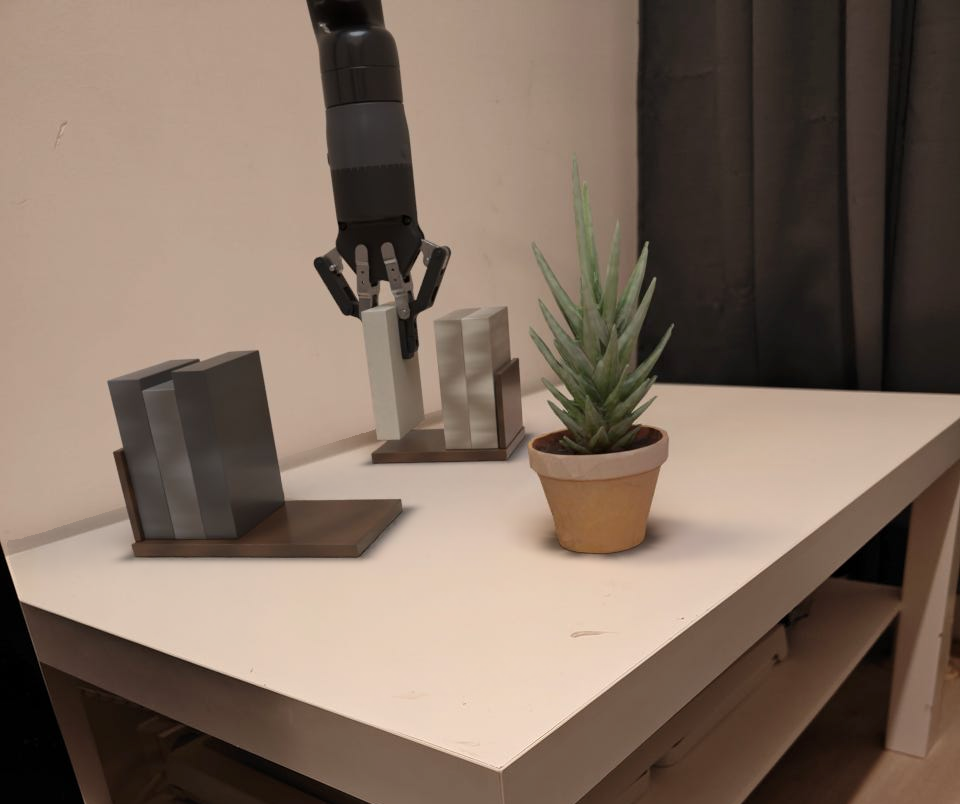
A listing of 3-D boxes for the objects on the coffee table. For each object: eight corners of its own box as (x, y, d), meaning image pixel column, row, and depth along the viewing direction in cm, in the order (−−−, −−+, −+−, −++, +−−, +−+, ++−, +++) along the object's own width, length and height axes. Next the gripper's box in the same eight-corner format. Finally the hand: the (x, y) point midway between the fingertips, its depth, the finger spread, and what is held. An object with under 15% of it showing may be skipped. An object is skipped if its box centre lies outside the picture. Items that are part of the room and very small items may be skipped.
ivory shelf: (372, 463, 92) (354, 325, 87) (401, 439, 101) (387, 312, 96) (506, 460, 89) (497, 317, 84) (525, 435, 98) (517, 304, 92)
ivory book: (377, 440, 92) (360, 312, 87) (403, 420, 100) (389, 301, 94) (400, 439, 91) (385, 310, 86) (425, 419, 99) (412, 299, 94)
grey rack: (134, 556, 71) (89, 377, 66) (202, 512, 81) (169, 353, 75) (358, 557, 67) (331, 365, 62) (402, 510, 77) (382, 341, 71)
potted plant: (565, 514, 72) (550, 157, 62) (685, 523, 68) (690, 142, 58) (507, 557, 65) (480, 157, 54) (639, 571, 60) (636, 140, 50)
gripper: (454, 157, 87) (470, 349, 94) (315, 171, 90) (340, 356, 97) (433, 154, 80) (452, 362, 87) (284, 170, 83) (313, 368, 91)
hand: (393, 358), depth 92 cm, fingers closed on ivory book, 2 cm apart
